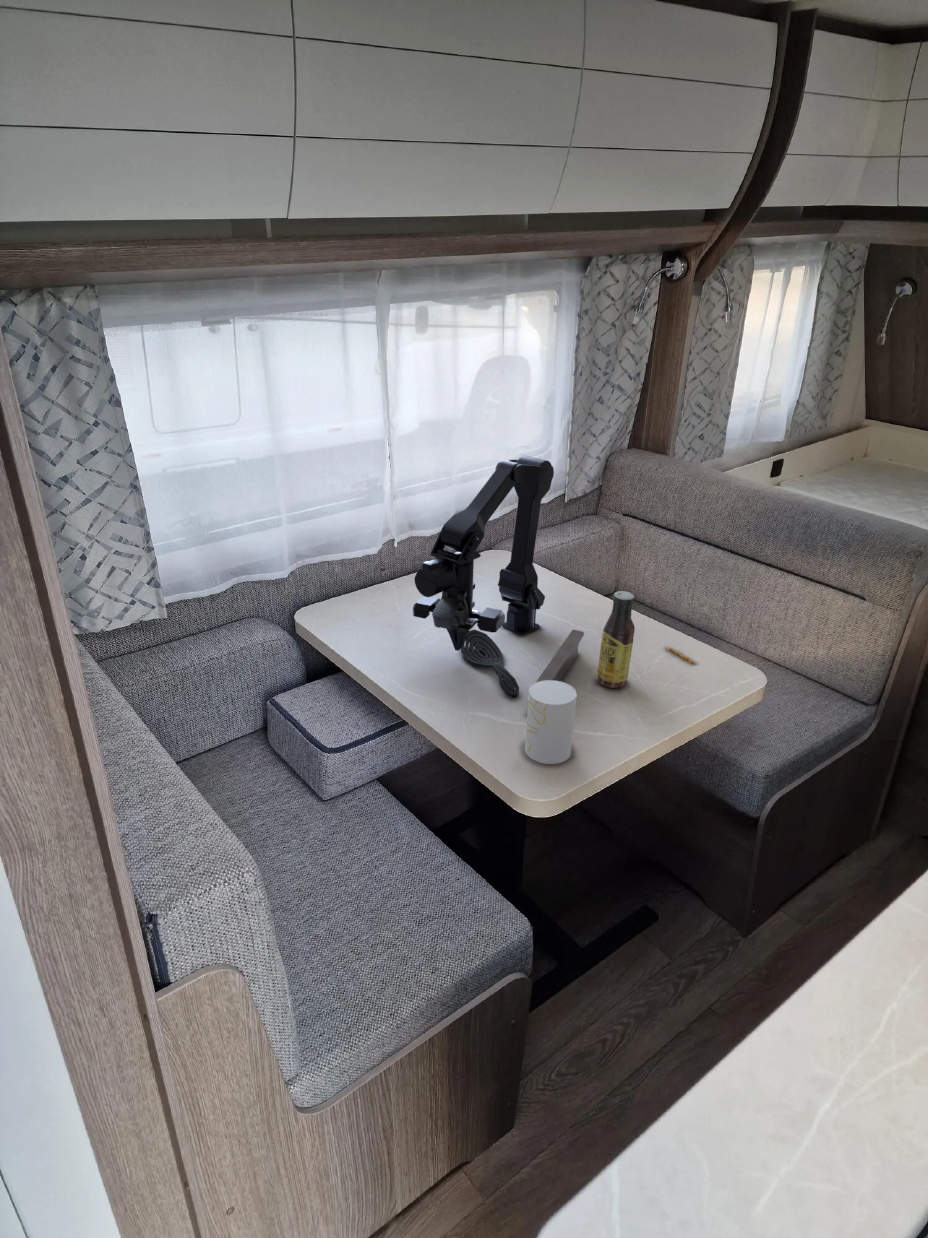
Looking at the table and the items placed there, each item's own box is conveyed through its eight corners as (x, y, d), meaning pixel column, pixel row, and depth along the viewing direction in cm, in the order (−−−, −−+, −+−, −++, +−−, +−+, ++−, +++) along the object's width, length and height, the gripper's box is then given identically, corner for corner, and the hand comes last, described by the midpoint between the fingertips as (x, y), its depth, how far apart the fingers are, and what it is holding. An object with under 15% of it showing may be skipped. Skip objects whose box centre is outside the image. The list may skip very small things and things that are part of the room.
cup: (521, 738, 148) (525, 680, 143) (566, 737, 149) (571, 679, 144) (528, 764, 141) (532, 705, 136) (575, 763, 142) (581, 704, 136)
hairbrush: (496, 689, 158) (454, 628, 179) (495, 704, 160) (453, 643, 181) (535, 682, 161) (489, 624, 181) (533, 698, 163) (488, 638, 183)
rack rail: (570, 653, 179) (572, 629, 176) (582, 655, 178) (584, 631, 175) (529, 715, 155) (530, 689, 153) (542, 718, 154) (544, 692, 152)
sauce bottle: (590, 677, 169) (599, 589, 160) (616, 672, 171) (627, 585, 162) (607, 692, 163) (617, 602, 155) (633, 687, 166) (645, 598, 157)
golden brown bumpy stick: (694, 664, 176) (695, 660, 175) (690, 665, 175) (691, 661, 175) (669, 649, 182) (669, 645, 181) (665, 650, 181) (666, 646, 181)
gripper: (400, 588, 163) (401, 657, 170) (487, 605, 156) (484, 676, 163) (424, 569, 172) (424, 635, 179) (507, 584, 166) (504, 652, 172)
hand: (457, 649), depth 173 cm, fingers closed
